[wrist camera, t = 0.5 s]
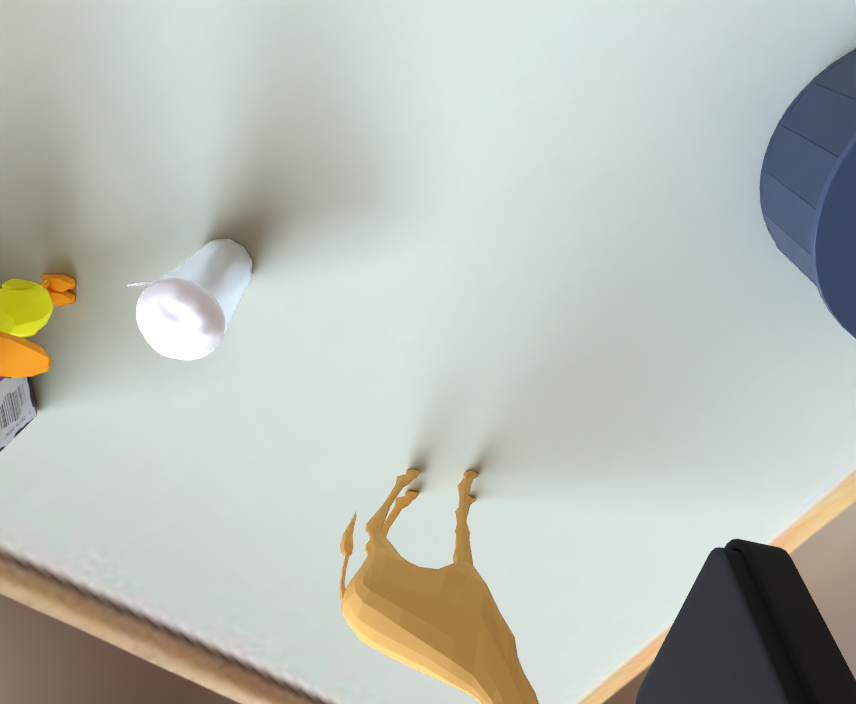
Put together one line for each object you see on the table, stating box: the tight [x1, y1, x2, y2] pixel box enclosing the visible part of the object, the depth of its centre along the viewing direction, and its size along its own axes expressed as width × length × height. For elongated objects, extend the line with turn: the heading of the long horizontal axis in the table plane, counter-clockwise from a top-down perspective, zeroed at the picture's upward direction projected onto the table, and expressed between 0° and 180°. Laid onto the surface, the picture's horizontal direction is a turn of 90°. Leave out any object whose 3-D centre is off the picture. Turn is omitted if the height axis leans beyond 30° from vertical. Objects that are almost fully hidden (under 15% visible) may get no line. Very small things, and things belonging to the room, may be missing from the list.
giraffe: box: [340, 469, 539, 704], centre depth 41 cm, size 16×4×25 cm, turn 87°
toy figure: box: [0, 274, 76, 378], centre depth 42 cm, size 7×4×12 cm, turn 78°
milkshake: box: [127, 239, 252, 360], centre depth 41 cm, size 4×5×10 cm
